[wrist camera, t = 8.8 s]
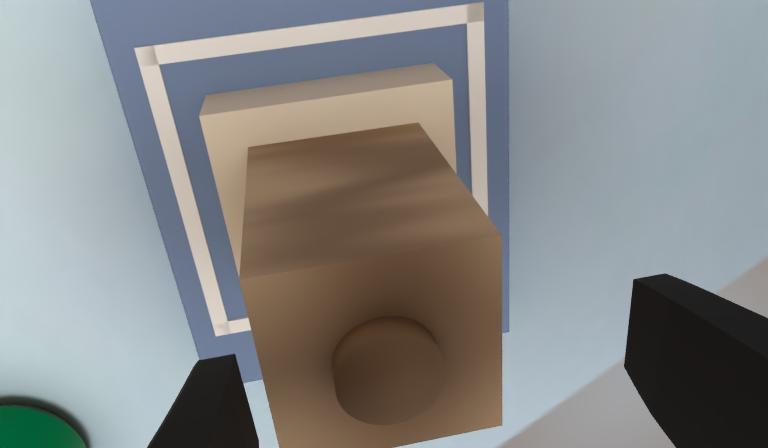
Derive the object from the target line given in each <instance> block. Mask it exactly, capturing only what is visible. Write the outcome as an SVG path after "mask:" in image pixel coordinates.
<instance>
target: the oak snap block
mask: <svg viewBox="0 0 768 448" xmlns="http://www.w3.org/2000/svg"><path fill="white" fill-rule="evenodd" d="M239 281H240V285H241V290H242V294H243V298H244V302H245V306H246V310H247V315H248V319H249V323H250V327H251V331H252V335H253V340H254V344H255V348H256V352H257V356H258V360H259V365H260V369H261V373H262V377H263V381H264V385H265V390H266V394H267V398H268V402H269V406H270V410H271V414H272V419H273V423H274V427H275V431H276V435H277V439H278V444H279V448H393V447H398V446H403V445H408V444H413V443H418V442H423V441H428V440H433V439H437V438H442V437H447V436H452V435H457V434H462V433H467V432H472V431H476V430H481V429H486V428H491V427H496V426H501V425H502V235H501V234H500V232H499V231H498V230H497V228H496V227H495V226H494V224H493V223H492V221H491V220H490V219H489V217H488V216H487V215H486V213H485V212H484V211H483V209H482V208H481V207H480V205H479V204H478V202H477V201H476V200H475V198H474V197H473V196H472V194H471V193H470V192H469V190H468V189H467V188H466V186H465V185H464V183H463V182H462V181H461V179H460V178H459V177H458V175H457V174H456V173H455V171H454V170H453V169H452V167H451V166H450V165H449V163H448V162H447V160H446V159H445V158H444V156H443V155H442V154H441V152H440V151H439V150H438V148H437V147H436V146H435V144H434V143H433V141H432V140H431V139H430V137H429V136H428V135H427V133H426V132H425V131H424V129H423V128H422V127H421V125H420V124H419V122H418V123H411V124H404V125H397V126H390V127H383V128H376V129H369V130H363V131H356V132H349V133H342V134H335V135H328V136H321V137H314V138H307V139H301V140H294V141H287V142H280V143H273V144H266V145H259V146H252V147H248V158H247V172H246V187H245V202H244V216H243V231H242V246H241V260H240V275H239Z"/></svg>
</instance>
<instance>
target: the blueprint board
mask: <svg viewBox="0 0 768 448" xmlns="http://www.w3.org/2000/svg"><path fill="white" fill-rule="evenodd" d="M90 2H91V6H92V9H93V12H94V15H95V19H96V22H97V25H98V29H99V32H100V35H101V38H102V42H103V45H104V48H105V51H106V55H107V58H108V61H109V65H110V68H111V71H112V74H113V78H114V81H115V84H116V87H117V91H118V94H119V97H120V101H121V104H122V107H123V110H124V114H125V117H126V120H127V123H128V127H129V130H130V133H131V137H132V140H133V143H134V146H135V150H136V153H137V156H138V159H139V163H140V166H141V169H142V173H143V176H144V179H145V182H146V186H147V189H148V192H149V195H150V199H151V202H152V205H153V209H154V212H155V215H156V218H157V222H158V225H159V228H160V231H161V235H162V238H163V241H164V245H165V248H166V251H167V254H168V258H169V261H170V264H171V267H172V271H173V274H174V277H175V281H176V284H177V287H178V290H179V294H180V297H181V300H182V303H183V307H184V310H185V313H186V317H187V320H188V323H189V326H190V330H191V333H192V336H193V339H194V343H195V346H196V349H197V353H198V356H199V359H200V360H203V359H208V358H214V357H219V356H224V355H230V354H235V355H236V359H237V363H238V366H239V370H240V374H241V377H242V381H243V383H246V382H251V381H256V380H261V379H263V377H262V373H261V369H260V365H259V360H258V356H257V352H256V348H255V344H254V340H253V335H252V331H251V327H250V323H249V319H248V315H247V310H246V306H245V302H244V298H243V294H242V290H241V285H240V281H239V275H240V260H241V246H242V231H243V216H244V202H245V187H246V172H247V158H248V147H252V146H259V145H266V144H273V143H280V142H287V141H294V140H301V139H307V138H314V137H321V136H328V135H335V134H342V133H349V132H356V131H363V130H369V129H376V128H383V127H390V126H397V125H404V124H411V123H418V122H419V124H420V125H421V127H422V128H423V129H424V131H425V132H426V133H427V135H428V136H429V137H430V139H431V140H432V141H433V143H434V144H435V146H436V147H437V148H438V150H439V151H440V152H441V154H442V155H443V156H444V158H445V159H446V160H447V162H448V163H449V165H450V166H451V167H452V169H453V170H454V171H455V173H456V174H457V175H458V177H459V178H460V179H461V181H462V182H463V183H464V185H465V186H466V188H467V189H468V190H469V192H470V193H471V194H472V196H473V197H474V198H475V200H476V201H477V202H478V204H479V205H480V207H481V208H482V209H483V211H484V212H485V213H486V215H487V216H488V217H489V219H490V220H491V221H492V223H493V224H494V226H495V227H496V228H497V230H498V231H499V232H500V234H501V235H502V333H506V332H509V95H508V0H90Z"/></svg>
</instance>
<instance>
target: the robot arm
mask: <svg viewBox="0 0 768 448" xmlns="http://www.w3.org/2000/svg"><path fill="white" fill-rule="evenodd" d="M624 367H625V369H626V371H627V373H628V375H629V376H630V378H631V380H632V382H633V384H634V386H635V387H636V389H637V391H638V393H639V395H640V396H641V398H642V399H643V401H644V403H645V405H646V406H647V408H648V409H649V411H650V413H651V415H652V416H653V417H654V419H655V420H656V421H657V423H658V424H659V426H660V427H661V428H662V430H663V431H664V432H665V434H666V435H667V436H668V438H669V439H670V440H671V442H672V443H673V444H674V445H675V447H676V448H768V318H766V317H764V316H762V315H759V314H757V313H755V312H753V311H751V310H748V309H746V308H744V307H742V306H739V305H737V304H735V303H733V302H731V301H729V300H726V299H724V298H722V297H720V296H718V295H715V294H713V293H711V292H709V291H706V290H704V289H702V288H700V287H697V286H695V285H693V284H690V283H688V282H686V281H683V280H681V279H678V278H676V277H673V276H670V275H668V274H660V275H654V276H649V277H644V278H638V279H634V281H633V290H632V299H631V308H630V317H629V326H628V336H627V345H626V354H625V363H624ZM147 448H259V440H258V436H257V433H256V429H255V425H254V422H253V418H252V414H251V411H250V407H249V403H248V400H247V396H246V392H245V389H244V385H243V381H242V377H241V374H240V370H239V366H238V363H237V359H236V355H235V354H230V355H224V356H219V357H214V358H208V359H203V360H199V361H198V362H197V363H196V364H195V366H194V367H193V369H192V371H191V373H190V374H189V376H188V378H187V380H186V382H185V384H184V385H183V387H182V389H181V391H180V393H179V395H178V396H177V398H176V400H175V402H174V403H173V405H172V407H171V409H170V410H169V412H168V414H167V415H166V417H165V419H164V421H163V422H162V424H161V426H160V427H159V429H158V431H157V432H156V434H155V435H154V437H153V439H152V440H151V442H150V444H149V445H148V447H147Z"/></svg>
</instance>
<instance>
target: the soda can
mask: <svg viewBox="0 0 768 448" xmlns="http://www.w3.org/2000/svg"><path fill="white" fill-rule="evenodd" d="M0 448H86V446H85V444H84V442H83V440H82V439H81V438H80V436H79V435H78V434H77V432H76V431H75V430H74V429H73V428H72V427H71V426H70V425H69V424H68V423H67V422H66V421H64V420H63V419H61V418H60V417H58V416H57V415H55V414H53V413H51V412H48V411H46V410H43V409H40V408H36V407H32V406H26V405H0Z"/></svg>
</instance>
